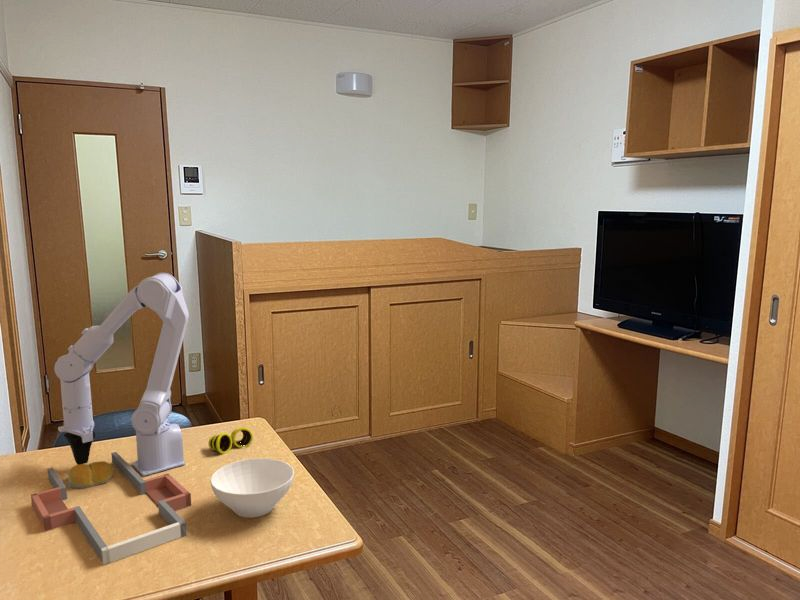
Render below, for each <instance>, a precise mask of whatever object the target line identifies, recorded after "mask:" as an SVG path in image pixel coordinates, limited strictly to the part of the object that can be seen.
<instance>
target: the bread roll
mask: <svg viewBox="0 0 800 600" xmlns="http://www.w3.org/2000/svg"><path fill="white" fill-rule="evenodd" d="M114 474H115V471H114V468H113V466H112V465H111V464H110V463H109V462H107V461H104V460H103V461H95V462H94V461H93V462H91V463H89V464H86V463H85V464H79V465H77V464H76V465H74V466H72V467H71V468H70V469H69V471H68V472H67V476H68V477H67V480H66V482H67V485H68V487H69V488H71V489H86V488H90V487H93V486H95V487H96V486H100V485H103V484H105V483H107V482H108V481H110V480H111V478H112V477H114Z"/></svg>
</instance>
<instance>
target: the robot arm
mask: <svg viewBox="0 0 800 600" xmlns="http://www.w3.org/2000/svg"><path fill="white" fill-rule="evenodd" d="M146 307H148V308H149V309H150V310H151V311H153V312H155V313H156V314H157V316H158V317H159V319H161V321H162V325H161V331H160V335H159V338H158V342H157V346H156V350H155V353H154V356H153V360H152V361H153V362H152V365H151V369H150V373H149V377H148V381H147V384H146V388H145V390H144V393H143V395H142V397H141V399H140V402H139V405H138V407H137V408H136V409H135V410H134V412H132V415H131V417H130V418H131V421H130V422H131V426H132V427H133V429H134V430H135V439H136V440H135V441H136V457H137V460H136V461H133V462H132V463H131V465H132V467H133V468H134V469H135V470H137V471H138V472H139V473H140V475H142V476H143V477H145V476H149V475H152V474H156V473H159V472H163V471H166V470H169V469H174V468H177V467H180V466H184V465H186V462H185V460H184V459H185V458H184V440H183V439H184V438H183V433H182V430H181V429H182V428H180V426H179V424H178V423H170V421H169V419H168V417H169V416H170V414H171V412H172V408H173V407H172V403H171V397H172V391H171V387H172V384H173V380H174V377H175V371H176V369H177V365H178V361H179V356H180V353H181V349H182V347H183V346H182V345H183V341H184V337H185V334H186V330H187V327H188V322H189V318H190V313H189V309H188V306H187V303H186V301H185V297H184V294H183V287H182V285H181V284H180V282H178V280H177V279H176V278H175V277H174V276H173V275H172V274H170V273H167V272H159V273H156V274H154V275H153V276H149V277H146V278H143V279H142V280H141V281H140V282H139V283H138V285H136V286H135V287H133V288H132V289H131V290H130V291H129V292H128V293H127V294H125V296H124V297H123V298H122V299H121V301H120V302H119V303H118V304H117V305H116V307H115V308H114V309H113V310H112V311H111V312H110V313H109V315H108V316H107V317H106V318H105V319H104V321H102V322H101V324H100V325H92V326H90V327H87V328H84V329H83V330H82V331H81V335H82V336H81V337H80V338H79V339H78V340H77V341H76V342H75V343H74V344H73V345H69V347H68V348H67V351H68V353H66V354H63V355H61V356H59V357H58V358H57V360H56V362H55V364H54V366H53V367H54V368H53V371H54V373H55V375H56V377H57V378H58V379H59V380H60V381H59V382H60V392H61V405H62V407H61V408H62V414H63V415H62V417H63V425H62V426H61V425H60V426H58V428H57V430H58V432H60V433H64V434H63V436H64V437H65V439H66V441H67V442H68V444H69V447H70V449H71V453H72V455H73V459H74V461H75V463H76V465H79V464H85V465H86V464H88V462H89V458H90V451H91V448H92V444H93V441H94V440H95V437H96V432H95V431H94V429H95V428H94V427H95V421H94V419H93V403H92V393H91V390H92V389H91V383H90V382H91V381H90V379H91V377H90V372H91V370H92V369H93V368H94V367H93V366H94V364H96V362H97V361H98V360H99V359H100V358H101V357H102V356H103V354H104V353H105V352H106V351H107V350H108V349H109V348H110V347H111V346H112V345H113V343H114V340H115V339H114V334H115V333H116V332H117V330H118V329H119V328H121V327H122V326H123V324H124V323H126V321H127V320H129V318H130V317H132V315H133V314H134V313H136V311H138V310H141V309H143V308H146Z"/></svg>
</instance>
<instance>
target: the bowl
mask: <svg viewBox="0 0 800 600" xmlns="http://www.w3.org/2000/svg"><path fill="white" fill-rule="evenodd" d="M294 477H295V470H294V468H293V466H291V465H290V464H289V463H287V462H286V461H282V460H279V459H275V458H270V457H269V458H264V457H258V458H246V459H242V460H237V461H234V462H230V463H227V464H226V465H224V466H222V467H219V468H217V469H216V470H215V471H214V472H213V474H211V476H210V486H211V489H212V492H213V494H214V495H215V497H216V498H217V499H218V500H219V501H220V502H221V503H222V504H224V505H225V506H227V507H228V508H229V509H230V510H231V511H233V512H234V514H236V515H237V516H239V517H241V518H247V519H248V518H249V519H253V518H260V517H264V516H265V515H267V514H268V513H270V512H271V511H273V509H274V507H276V505H277V504H278V503H279V502H280V500H281V499H283V498H284V497H285V495H286V494H287V493H288V491H289V490H290V488H291V486H292V484H293V483H294V480H295V479H294Z"/></svg>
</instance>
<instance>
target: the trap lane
mask: <svg viewBox="0 0 800 600" xmlns="http://www.w3.org/2000/svg"><path fill="white" fill-rule="evenodd" d="M111 463H112V465H113V466H114V467H115V468H116V469H117V470H118V471H119V472H120V473H121V475H122V476H123V477H124V478H125V479H126V480H127V481H128V482H129V483H130V484H131V485H132V486H133V488H135V489H136V491H138V493H140V495H141V496H142V495H146V494H147V496H148V497H150V499H151V500H152V501H153V502H154V503H155V504H156V505H157V506H158V514H159V516H161V518H162V519H163V520H165V522H166V523H167V524H168V525H166V526H163V527H160V528H157V529H154V530H151V531H149V532H148V531H147V532H145V533H143V534H140V535H137V536H133V537H131V538H128V539H126V540H121V541H119V542H116V543H114V544H110V545H108V546H107V544H106V542H105V541H104V540H103V538H102V537H101V536H100V534H99V533H98V531H97V530H96V528H95V527H94V525H93V524H92V522H91V521H90V519H89V518H88V516H86V514H85V512H84V510H83V509H81V506H80V505H78V506H74V507H70V508H68V507H67V506H66V504H65V502H64V500H67V499H68V495H67V494H68V493H67V486H66V485H65V483H64V482H63V481H62V479H61V478H60V476H59V475H58V473H57V472H56V470H55V469H54V467H48V468H46V469H47V480H48V482H49V483H50V484H51V486H52V488H51V489H47V490H43V491H39V492H36V493H32V494H30V499H31V506H32V508H33V511H34V513H35V514H36V517H37V518H38V520H39V523H41V526H42V528H43V530H44V531H45V532H48V531H51V530H53V529H56V528H60V527H64V526H67V525H70V523H71V524H74V523H76V525H77V526H78V528H79V530H80V531H81V532H82V535H83V536H84V538H85V539H86V540H87V542H88V544H89V545H90V547H91V549H92V550H93V551H94V553H95V554H96V556H97V557H98V560H99V561H100V562H101V563H102V565H103V566H105V565H108V564H110V563H114V562H115V561H116V562H117V561H118V560H121V559H125V558H127V557H130V556H133V555H136V554H138V553H141V552H143V551H146V550H149V549H152V548H155V547H157V546H158V547H159V546H161V545H164V544H165V543H168V542H172V541H174V540H177V539H180V538H183V537H185V536H187V523H186V521H185V520H184V518H182V517H181V516H180V515H179V514H178V513H177V512H176V511H179V510H182V509H185V508H187V507H192V494H191V493H190V492H189V491H188V490H187V489H186V488H185V487H184V486H183V485H181V483H179V482H178V481H177V480H176V479H175V478H174V477H173V476H172V475H171V474H170V473H165V474H161V475H157V476H155V477H150V478H148V479H143V478H142V477H141V476H140V474H138V472H137V471H135V468H134V467H133V466H131V465H130V464H129V463H128V462H127V461H125V459H124V458H123V457H122V456H121V455H120V454H119V453H118V452H117V451H113V452H111ZM73 522H74V523H73Z"/></svg>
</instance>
